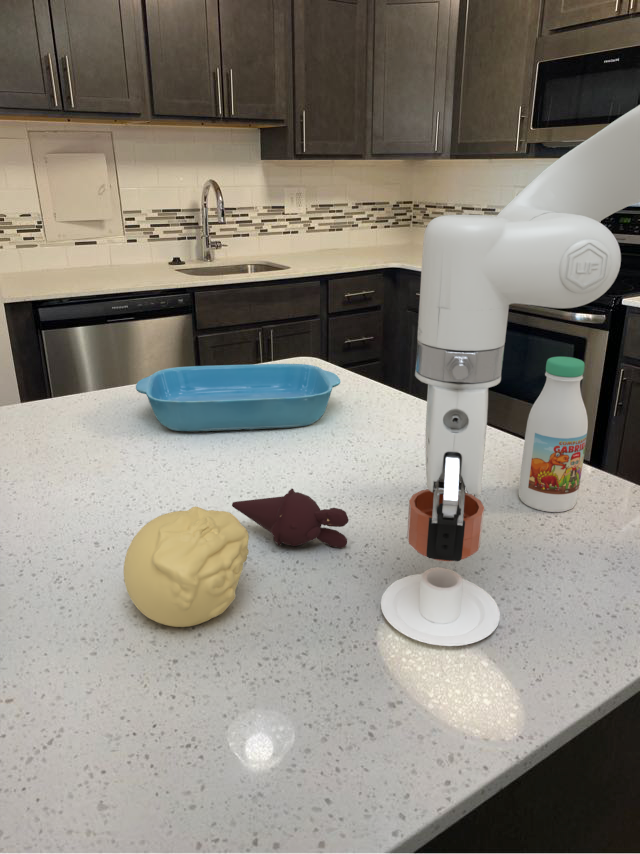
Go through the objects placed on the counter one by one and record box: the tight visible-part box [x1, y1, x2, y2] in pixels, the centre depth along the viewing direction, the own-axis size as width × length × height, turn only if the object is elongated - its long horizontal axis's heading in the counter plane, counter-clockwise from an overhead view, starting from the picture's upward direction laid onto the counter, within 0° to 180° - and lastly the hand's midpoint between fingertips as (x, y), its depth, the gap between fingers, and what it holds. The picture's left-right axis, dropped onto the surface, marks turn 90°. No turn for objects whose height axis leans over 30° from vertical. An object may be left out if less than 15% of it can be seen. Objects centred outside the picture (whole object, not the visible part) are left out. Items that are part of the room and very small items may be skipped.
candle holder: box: [380, 566, 501, 647], centre depth 68 cm, size 12×12×4 cm
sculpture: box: [123, 506, 250, 628], centre depth 67 cm, size 12×12×11 cm
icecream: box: [231, 488, 349, 549], centre depth 80 cm, size 7×7×15 cm
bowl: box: [406, 488, 485, 562], centre depth 65 cm, size 7×7×4 cm
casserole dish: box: [135, 363, 341, 432], centre depth 122 cm, size 37×22×7 cm, turn 99°
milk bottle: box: [518, 356, 589, 513], centre depth 88 cm, size 8×8×20 cm
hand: (443, 535), depth 65 cm, fingers closed on bowl, 7 cm apart
